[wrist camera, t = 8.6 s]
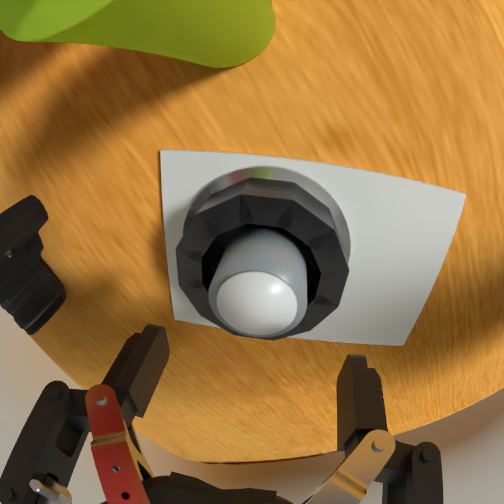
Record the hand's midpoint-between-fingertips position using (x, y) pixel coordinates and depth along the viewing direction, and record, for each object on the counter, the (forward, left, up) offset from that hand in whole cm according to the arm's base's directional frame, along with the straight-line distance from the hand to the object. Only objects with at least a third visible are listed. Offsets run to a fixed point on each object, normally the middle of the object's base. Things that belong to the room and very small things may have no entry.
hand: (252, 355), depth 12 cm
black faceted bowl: (0, 0, -9) cm, 9 cm away
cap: (0, 0, -8) cm, 8 cm away
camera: (+24, +4, -9) cm, 26 cm away
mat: (-3, +1, -9) cm, 9 cm away
